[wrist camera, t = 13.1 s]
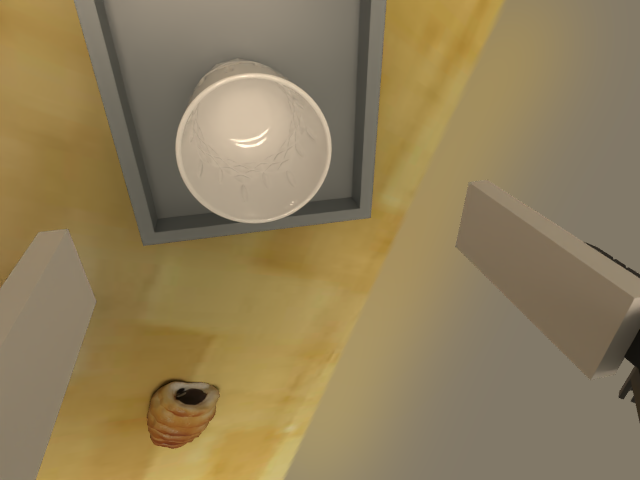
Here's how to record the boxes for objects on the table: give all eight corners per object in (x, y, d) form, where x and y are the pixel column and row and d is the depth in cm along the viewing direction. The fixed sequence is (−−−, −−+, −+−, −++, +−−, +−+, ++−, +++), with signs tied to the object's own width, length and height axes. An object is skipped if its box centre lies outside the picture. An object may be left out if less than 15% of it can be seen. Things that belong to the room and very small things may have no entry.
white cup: (204, 26, 25) (203, 42, 17) (313, 78, 29) (357, 112, 20) (171, 139, 28) (156, 199, 20) (273, 175, 32) (296, 239, 23)
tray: (148, 226, 32) (143, 245, 30) (75, -46, 23) (59, -52, 20) (359, 202, 36) (370, 217, 33) (372, -43, 26) (389, -46, 24)
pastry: (197, 434, 47) (196, 466, 44) (137, 431, 45) (131, 464, 42) (222, 381, 44) (223, 411, 41) (158, 373, 41) (154, 405, 38)
